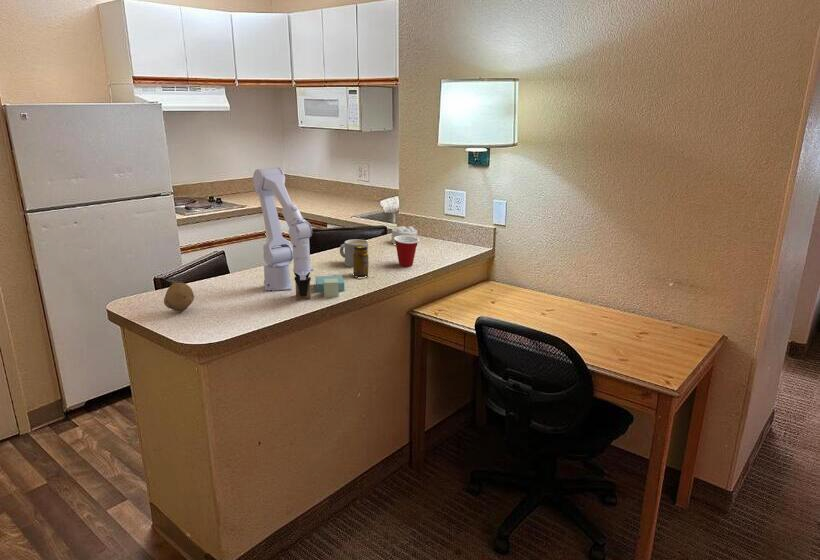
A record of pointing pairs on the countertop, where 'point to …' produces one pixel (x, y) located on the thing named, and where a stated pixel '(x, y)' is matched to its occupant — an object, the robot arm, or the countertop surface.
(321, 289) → the teal base block
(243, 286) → the countertop surface
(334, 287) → the sage block
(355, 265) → the condiment
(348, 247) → the coffee mug
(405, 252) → the plastic cup
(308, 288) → the walnut block
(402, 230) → the lumpy-topped squat cylinder
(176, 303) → the brown round lump
